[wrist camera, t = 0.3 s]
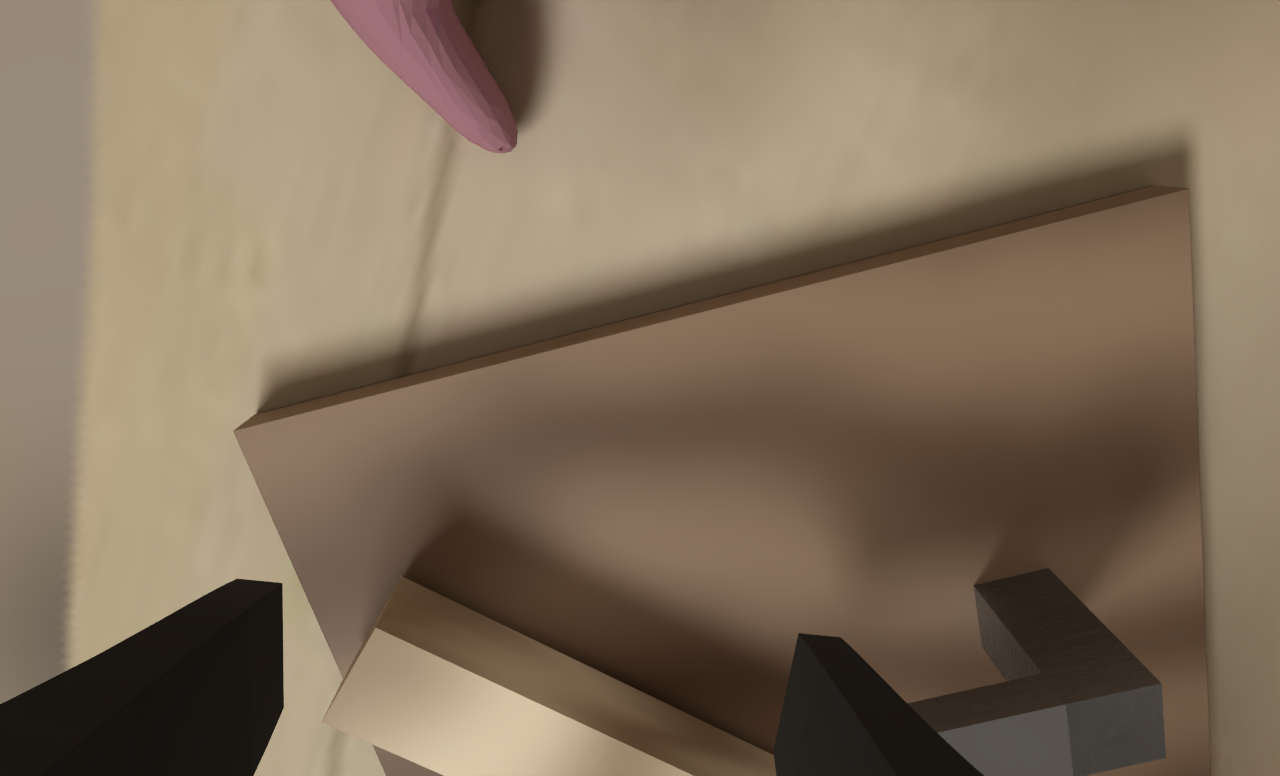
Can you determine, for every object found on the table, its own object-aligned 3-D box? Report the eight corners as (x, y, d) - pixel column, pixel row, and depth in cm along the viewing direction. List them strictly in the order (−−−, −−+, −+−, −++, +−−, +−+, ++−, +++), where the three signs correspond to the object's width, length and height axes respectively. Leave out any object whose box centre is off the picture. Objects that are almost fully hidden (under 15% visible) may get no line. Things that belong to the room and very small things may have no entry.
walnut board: (1189, 861, 26) (1215, 895, 25) (509, 1002, 27) (504, 1040, 26) (1154, 185, 19) (1189, 188, 18) (255, 414, 20) (233, 430, 19)
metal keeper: (1055, 630, 22) (1165, 757, 17) (773, 694, 22) (811, 834, 18) (1048, 567, 21) (1161, 683, 17) (759, 634, 21) (794, 763, 17)
